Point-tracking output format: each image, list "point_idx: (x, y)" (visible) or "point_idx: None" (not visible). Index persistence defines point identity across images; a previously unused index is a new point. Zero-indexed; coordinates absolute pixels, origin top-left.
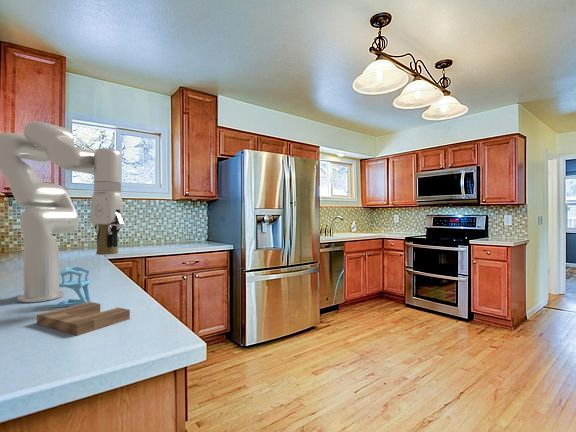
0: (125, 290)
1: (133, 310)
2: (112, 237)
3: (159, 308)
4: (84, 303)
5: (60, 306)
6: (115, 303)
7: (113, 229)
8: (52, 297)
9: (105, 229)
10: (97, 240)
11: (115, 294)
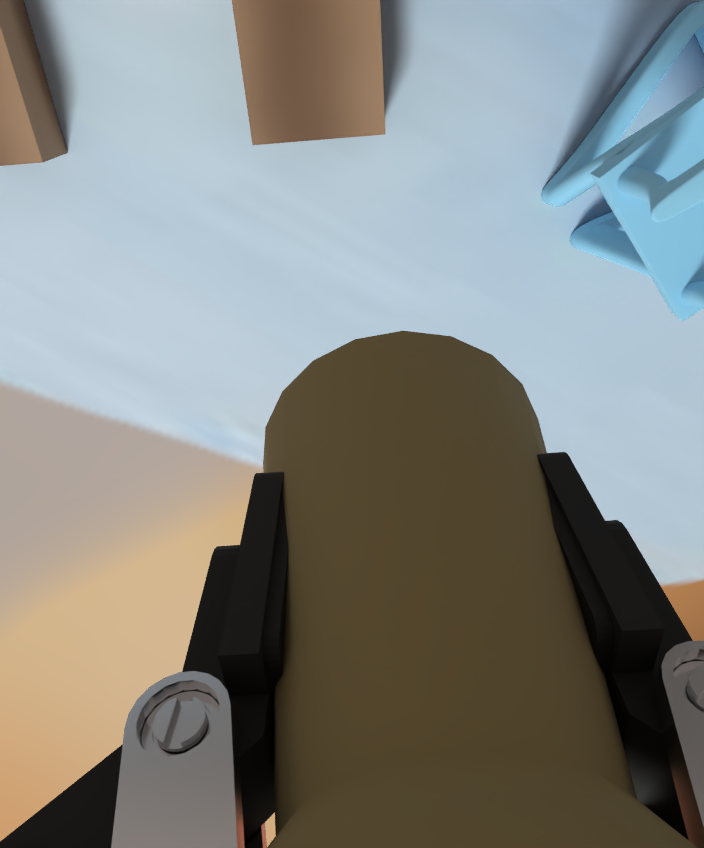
0: (628, 516)
1: (130, 287)
2: (189, 649)
3: (53, 391)
4: (372, 78)
5: (665, 33)
6: (392, 319)
7: (68, 838)
8: None
9: (331, 784)
10: (588, 518)
11: (601, 437)
